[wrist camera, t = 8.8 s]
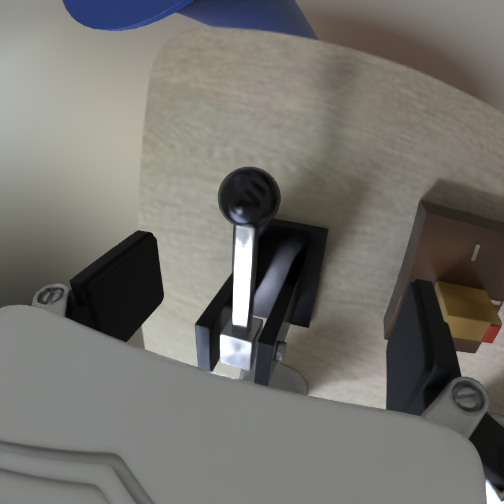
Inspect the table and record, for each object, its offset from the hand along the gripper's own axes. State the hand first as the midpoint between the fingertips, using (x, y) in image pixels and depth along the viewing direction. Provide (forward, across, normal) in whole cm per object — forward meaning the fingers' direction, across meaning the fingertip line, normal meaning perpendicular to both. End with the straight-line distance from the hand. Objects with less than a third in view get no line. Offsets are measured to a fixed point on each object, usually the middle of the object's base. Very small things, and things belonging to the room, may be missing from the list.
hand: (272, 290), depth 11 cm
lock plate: (+16, -13, +6) cm, 21 cm away
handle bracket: (+16, +3, +9) cm, 18 cm away
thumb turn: (+13, -13, +6) cm, 19 cm away
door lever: (+7, +3, +4) cm, 9 cm away
